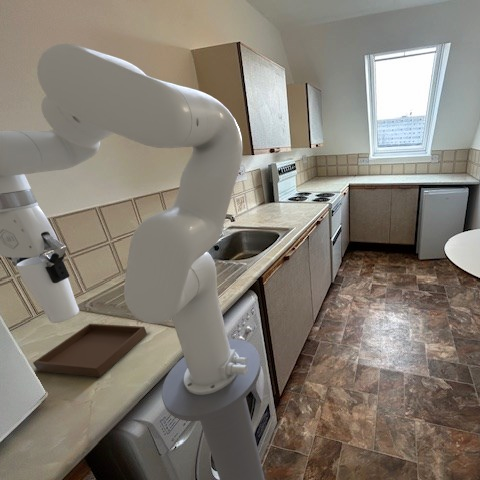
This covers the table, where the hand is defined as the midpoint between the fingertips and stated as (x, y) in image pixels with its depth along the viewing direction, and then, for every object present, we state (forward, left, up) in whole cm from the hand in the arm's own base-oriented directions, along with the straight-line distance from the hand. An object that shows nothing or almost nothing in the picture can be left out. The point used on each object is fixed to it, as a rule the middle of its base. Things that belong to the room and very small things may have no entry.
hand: (47, 279), depth 59 cm
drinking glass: (0, 0, -10) cm, 10 cm away
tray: (+4, -5, -26) cm, 26 cm away
